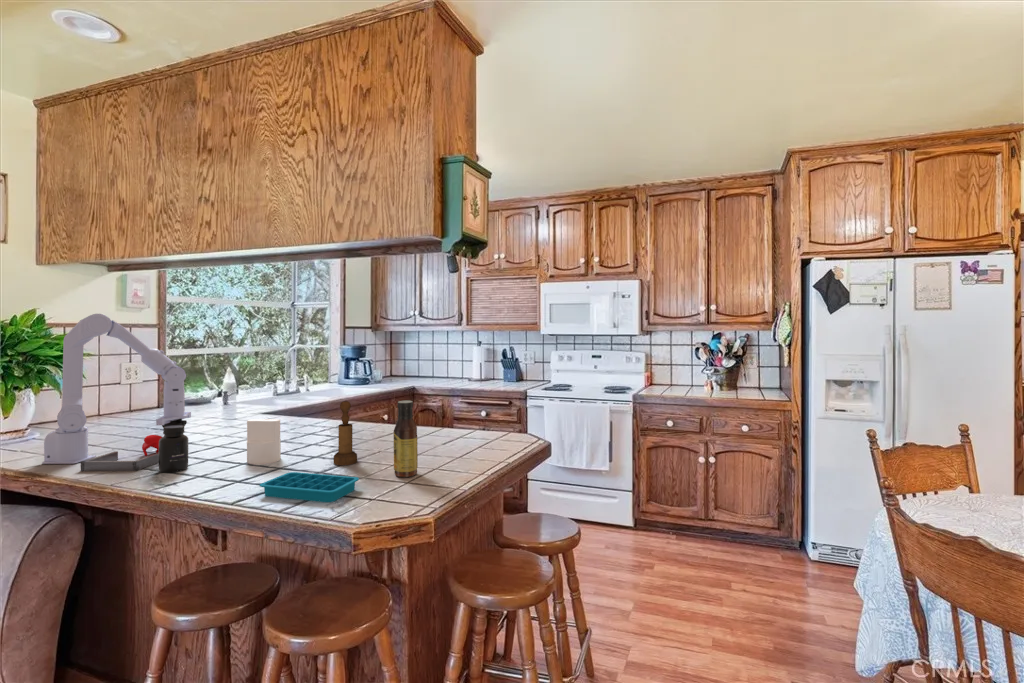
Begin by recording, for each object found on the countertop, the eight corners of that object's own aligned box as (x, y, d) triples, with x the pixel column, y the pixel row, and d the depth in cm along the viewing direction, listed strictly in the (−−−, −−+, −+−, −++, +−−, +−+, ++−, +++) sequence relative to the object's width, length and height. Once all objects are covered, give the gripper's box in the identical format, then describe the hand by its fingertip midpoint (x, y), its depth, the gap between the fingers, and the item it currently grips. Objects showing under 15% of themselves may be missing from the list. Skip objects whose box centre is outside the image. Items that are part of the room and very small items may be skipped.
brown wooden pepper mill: (347, 466, 142) (347, 403, 142) (328, 464, 144) (328, 402, 144) (361, 460, 148) (361, 400, 148) (343, 458, 150) (343, 399, 150)
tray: (80, 471, 136) (80, 461, 136) (114, 459, 148) (114, 451, 148) (136, 470, 137) (136, 461, 137) (165, 459, 149) (165, 451, 149)
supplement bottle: (177, 473, 135) (177, 429, 134) (152, 473, 135) (152, 428, 134) (194, 466, 141) (193, 424, 141) (170, 466, 142) (170, 424, 141)
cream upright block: (286, 456, 153) (286, 417, 153) (271, 464, 144) (270, 423, 144) (257, 456, 153) (257, 417, 153) (240, 464, 144) (240, 422, 144)
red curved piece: (132, 446, 152) (146, 437, 151) (146, 436, 158) (159, 426, 157) (152, 465, 154) (166, 455, 153) (165, 454, 160) (178, 445, 159)
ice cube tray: (333, 505, 111) (333, 492, 111) (256, 498, 116) (256, 485, 116) (361, 489, 122) (361, 477, 122) (290, 483, 127) (290, 471, 127)
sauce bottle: (397, 471, 137) (397, 399, 137) (420, 471, 137) (420, 399, 136) (390, 478, 130) (390, 402, 130) (414, 478, 130) (413, 402, 130)
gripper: (172, 405, 157) (172, 448, 157) (199, 399, 171) (200, 438, 172) (149, 405, 157) (149, 448, 157) (178, 399, 171) (179, 438, 172)
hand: (174, 443), depth 164 cm, fingers closed
